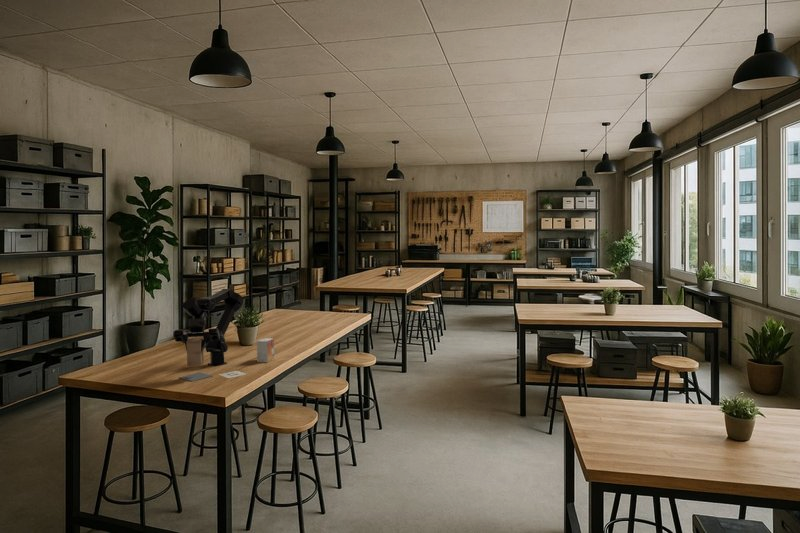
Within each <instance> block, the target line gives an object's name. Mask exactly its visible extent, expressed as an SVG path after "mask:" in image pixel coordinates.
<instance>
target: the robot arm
mask: <svg viewBox="0 0 800 533" xmlns="http://www.w3.org/2000/svg"><path fill="white" fill-rule="evenodd" d="M222 301H223V302H224V306H225V309H224V311H223V313H222V315H221V317H220V319H219V321H218V323H217V325H216V326H215V327H214V328H208V331H205V329H206V325H207V319H209V315H208V313H207V312H206V311H209V312H210V311H213V310H214V309H215V308H216V307H217V304H219V303H221V302H222ZM244 302H245V299H244V297H243V296H242V295H241V294H239V293H237V292H236V291H234V290H233V289H231V288H222V289H220V291H217V292H216V293H214V294H211V295H210V296H205V297H204V296H203V297H199V298H198V299H196V297H194V296H192V297H191V296H190V298H189V299H186V300H185V302H183V303H182V309H183V310H185V312H186V313H187V314H188V316H191V317H192V318H189V319H188V326H187V327H189V328H188V330H189V332H188V331H185V329H175V330H174V331H173V332H172V333H173V334H172V336H173V338H174V341H175V342H177V343H181V342H182V344H184V346H185V350H186V352H187V344H186V342H187V341H188V340H189V339H190V338H203V342H202V346H201V351H203V352H204V350H205V351H206V353H210V354H209V355H210V362H209V363H207V365H209V366H213V367H218V366H222V365H226V364H228V362H227V361H226V362H225V353H227V352H228V349H229V347H228V346H229V345H228V344H227V343H226V339H225V335H226V332H227V330H228V328H229V325H230V323H231V321H232V319H233V317H234V315H235V314H236V312H237V311H239V310H240V309H241V308H242V306H243V305H244Z"/></svg>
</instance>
